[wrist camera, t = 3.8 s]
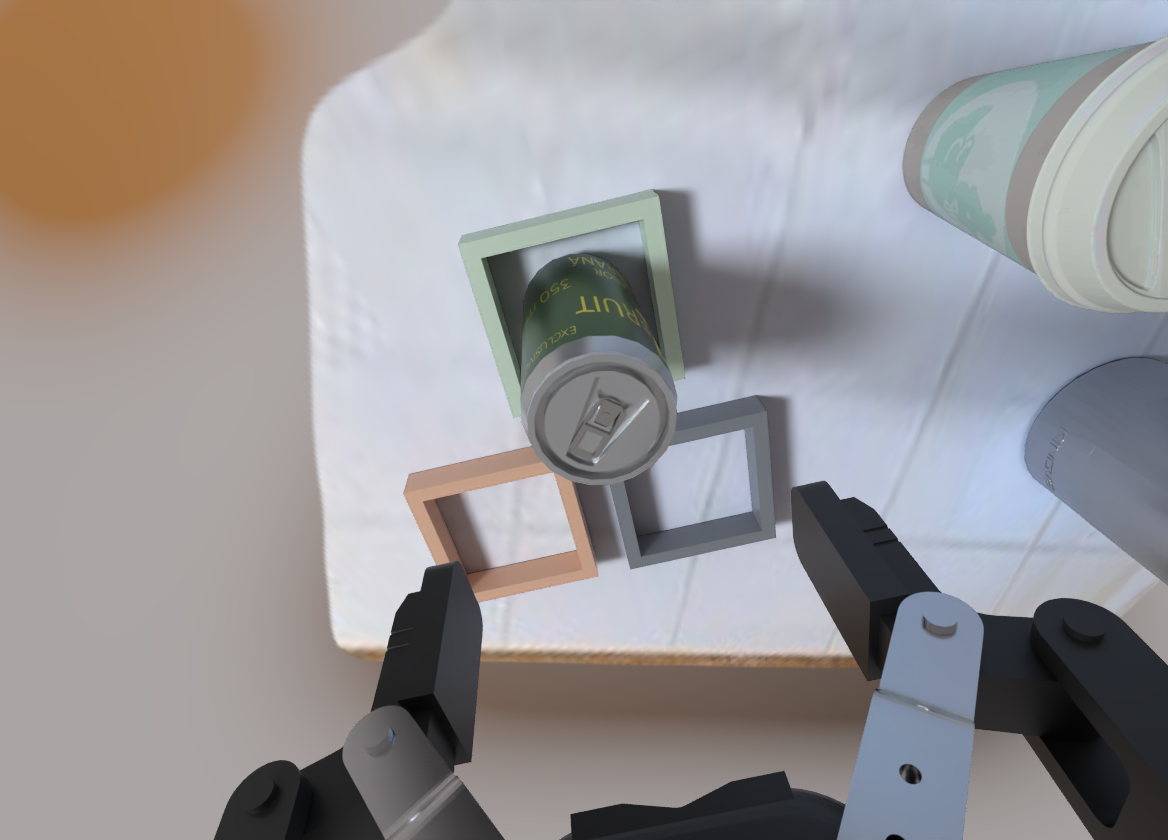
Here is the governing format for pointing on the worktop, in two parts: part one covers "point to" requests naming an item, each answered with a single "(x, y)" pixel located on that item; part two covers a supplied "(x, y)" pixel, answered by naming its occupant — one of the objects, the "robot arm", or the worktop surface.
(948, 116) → the coffee cup
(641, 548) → the charcoal frame
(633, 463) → the beer can
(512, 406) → the sage frame
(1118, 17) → the worktop surface
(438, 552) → the terracotta frame
